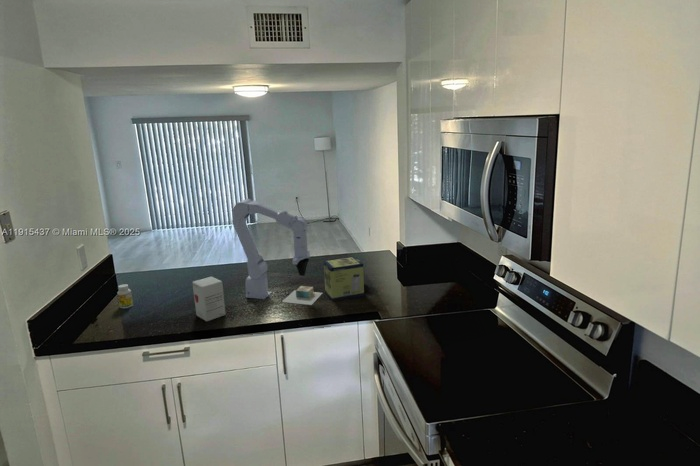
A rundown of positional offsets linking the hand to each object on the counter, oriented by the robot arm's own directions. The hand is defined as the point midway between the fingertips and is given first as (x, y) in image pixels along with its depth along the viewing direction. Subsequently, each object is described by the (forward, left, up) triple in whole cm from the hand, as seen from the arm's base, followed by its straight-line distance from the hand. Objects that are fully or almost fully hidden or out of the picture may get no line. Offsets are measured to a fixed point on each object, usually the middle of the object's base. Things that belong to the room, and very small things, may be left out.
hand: (302, 275), depth 201 cm
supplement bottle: (-72, -28, -11) cm, 78 cm away
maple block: (0, -1, -9) cm, 9 cm away
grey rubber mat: (0, -1, -10) cm, 10 cm away
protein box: (+17, +7, -11) cm, 21 cm away
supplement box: (-30, -27, -11) cm, 42 cm away
